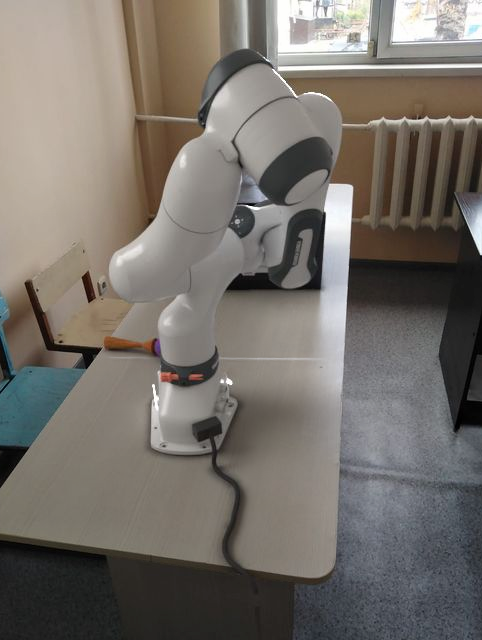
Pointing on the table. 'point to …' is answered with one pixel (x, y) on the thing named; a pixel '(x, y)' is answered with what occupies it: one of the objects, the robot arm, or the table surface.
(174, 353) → the robot arm
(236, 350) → the table surface
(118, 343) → the kendama
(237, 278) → the oven door
